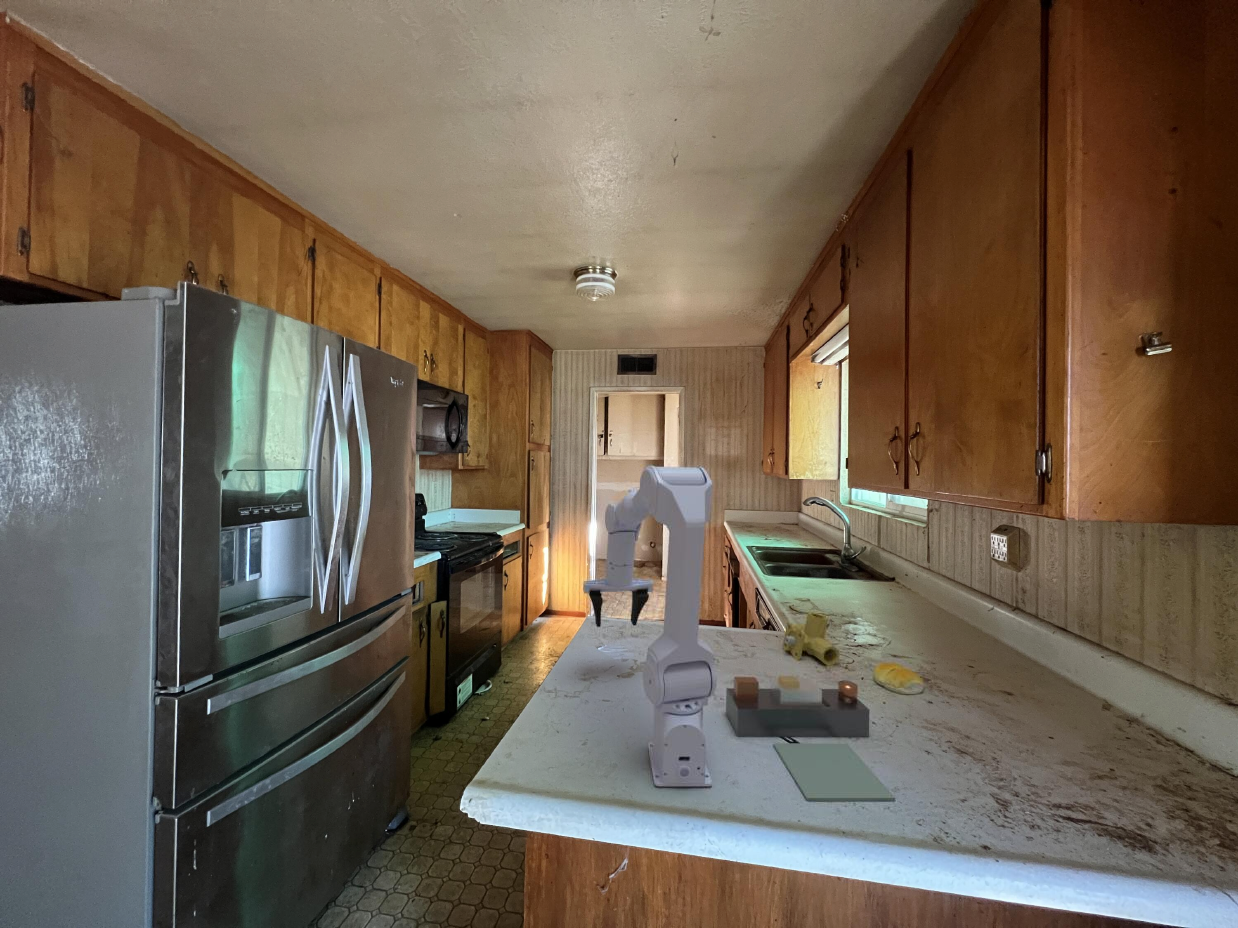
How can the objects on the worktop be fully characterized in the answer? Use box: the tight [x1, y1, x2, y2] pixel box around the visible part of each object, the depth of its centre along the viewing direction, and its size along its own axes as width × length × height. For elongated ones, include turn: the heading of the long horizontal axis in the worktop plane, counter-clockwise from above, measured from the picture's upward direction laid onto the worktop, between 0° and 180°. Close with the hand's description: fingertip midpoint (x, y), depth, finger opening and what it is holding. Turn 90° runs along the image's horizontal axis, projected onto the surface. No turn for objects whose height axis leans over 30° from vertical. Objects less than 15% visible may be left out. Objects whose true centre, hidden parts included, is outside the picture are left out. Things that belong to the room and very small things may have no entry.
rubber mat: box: [772, 742, 896, 802], centre depth 67 cm, size 12×12×1 cm
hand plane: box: [725, 676, 871, 738], centre depth 79 cm, size 7×22×8 cm, turn 92°
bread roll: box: [872, 662, 924, 695], centre depth 96 cm, size 8×9×4 cm
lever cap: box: [769, 675, 822, 706], centre depth 79 cm, size 5×7×3 cm, turn 92°
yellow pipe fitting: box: [782, 611, 840, 667], centre depth 109 cm, size 13×10×10 cm
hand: (615, 623), depth 97 cm, fingers open, 7 cm apart
